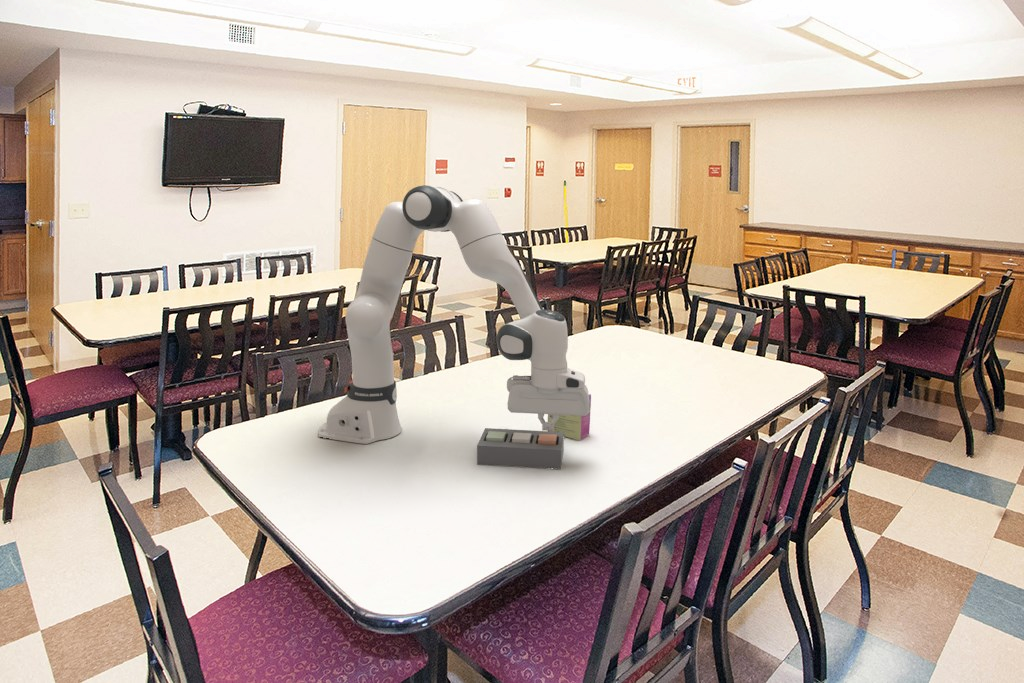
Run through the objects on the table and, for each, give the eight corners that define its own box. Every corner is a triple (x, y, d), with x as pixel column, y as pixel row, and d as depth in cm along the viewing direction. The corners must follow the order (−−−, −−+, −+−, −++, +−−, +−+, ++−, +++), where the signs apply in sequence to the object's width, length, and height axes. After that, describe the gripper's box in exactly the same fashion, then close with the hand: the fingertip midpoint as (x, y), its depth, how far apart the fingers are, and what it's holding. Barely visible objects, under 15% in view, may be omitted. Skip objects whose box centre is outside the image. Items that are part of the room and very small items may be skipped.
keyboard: (477, 464, 170) (477, 445, 169) (485, 446, 181) (485, 428, 180) (560, 469, 167) (561, 450, 166) (563, 450, 179) (564, 432, 178)
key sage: (486, 444, 172) (486, 437, 172) (488, 437, 176) (488, 431, 176) (503, 445, 172) (503, 438, 171) (505, 438, 176) (505, 432, 176)
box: (590, 434, 190) (591, 393, 187) (580, 441, 185) (581, 399, 182) (556, 427, 195) (557, 387, 192) (546, 433, 191) (547, 392, 188)
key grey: (511, 445, 171) (511, 438, 171) (514, 439, 176) (514, 432, 175) (529, 446, 171) (529, 439, 170) (531, 440, 175) (531, 433, 175)
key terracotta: (537, 447, 171) (538, 440, 170) (539, 440, 175) (539, 433, 174) (555, 448, 170) (555, 441, 170) (556, 441, 174) (556, 434, 174)
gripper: (505, 378, 167) (505, 432, 170) (590, 381, 164) (588, 436, 167) (508, 371, 173) (508, 423, 176) (590, 374, 170) (589, 427, 174)
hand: (548, 429), depth 172 cm, fingers closed
